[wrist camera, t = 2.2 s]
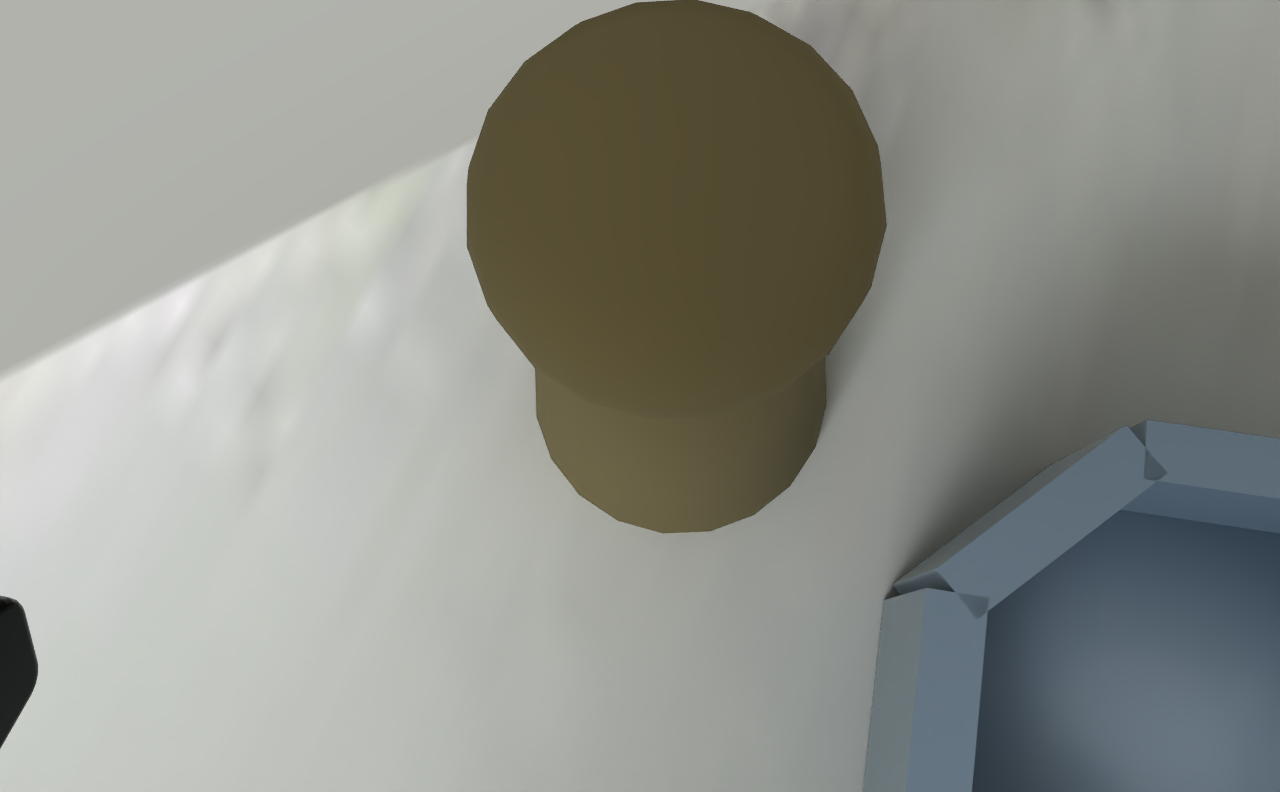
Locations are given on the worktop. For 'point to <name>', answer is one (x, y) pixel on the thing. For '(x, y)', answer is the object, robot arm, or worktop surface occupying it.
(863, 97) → the worktop surface
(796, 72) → the cork
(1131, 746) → the bowl
